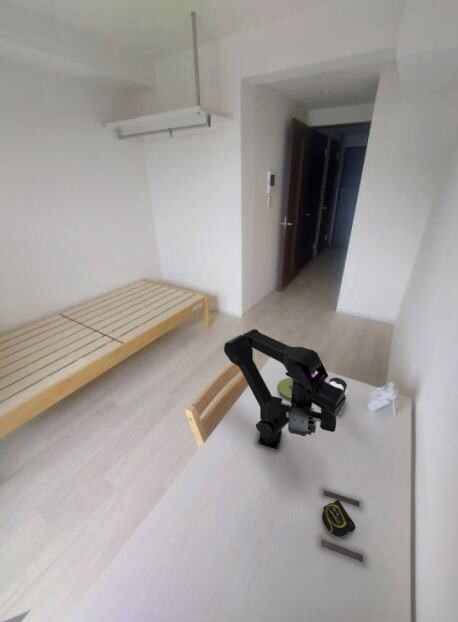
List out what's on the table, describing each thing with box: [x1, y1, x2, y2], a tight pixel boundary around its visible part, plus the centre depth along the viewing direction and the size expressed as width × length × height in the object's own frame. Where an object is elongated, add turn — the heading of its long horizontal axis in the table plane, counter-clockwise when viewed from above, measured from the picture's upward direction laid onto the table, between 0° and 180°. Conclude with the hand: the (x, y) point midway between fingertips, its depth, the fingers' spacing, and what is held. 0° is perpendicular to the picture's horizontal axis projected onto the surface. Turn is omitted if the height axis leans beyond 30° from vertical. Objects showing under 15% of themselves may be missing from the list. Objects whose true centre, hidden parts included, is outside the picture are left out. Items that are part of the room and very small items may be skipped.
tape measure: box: [321, 499, 357, 538], centre depth 69 cm, size 7×7×4 cm
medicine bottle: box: [328, 377, 349, 416], centre depth 101 cm, size 7×7×12 cm
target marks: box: [321, 489, 364, 562], centre depth 69 cm, size 9×13×1 cm
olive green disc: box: [277, 377, 293, 399], centre depth 110 cm, size 11×11×2 cm
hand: (297, 433), depth 79 cm, fingers closed
